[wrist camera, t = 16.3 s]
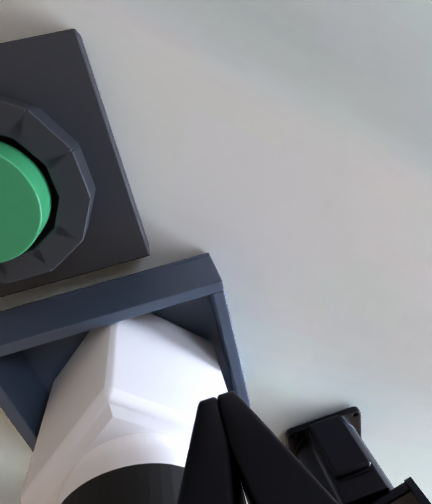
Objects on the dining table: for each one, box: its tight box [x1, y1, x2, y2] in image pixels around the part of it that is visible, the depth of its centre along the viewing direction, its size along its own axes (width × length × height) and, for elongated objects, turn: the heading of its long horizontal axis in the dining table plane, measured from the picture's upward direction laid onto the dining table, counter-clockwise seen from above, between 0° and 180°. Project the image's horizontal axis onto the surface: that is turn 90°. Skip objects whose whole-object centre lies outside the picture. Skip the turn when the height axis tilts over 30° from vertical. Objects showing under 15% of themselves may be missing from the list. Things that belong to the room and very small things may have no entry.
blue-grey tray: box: [0, 253, 251, 452], centre depth 20 cm, size 11×12×3 cm
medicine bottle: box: [20, 312, 228, 504], centre depth 16 cm, size 7×7×12 cm
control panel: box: [0, 29, 150, 297], centre depth 14 cm, size 10×10×3 cm
